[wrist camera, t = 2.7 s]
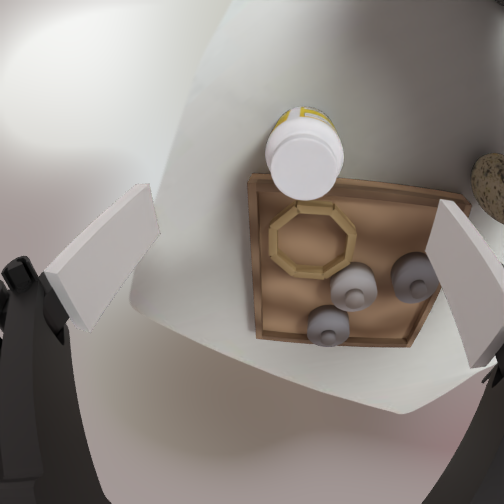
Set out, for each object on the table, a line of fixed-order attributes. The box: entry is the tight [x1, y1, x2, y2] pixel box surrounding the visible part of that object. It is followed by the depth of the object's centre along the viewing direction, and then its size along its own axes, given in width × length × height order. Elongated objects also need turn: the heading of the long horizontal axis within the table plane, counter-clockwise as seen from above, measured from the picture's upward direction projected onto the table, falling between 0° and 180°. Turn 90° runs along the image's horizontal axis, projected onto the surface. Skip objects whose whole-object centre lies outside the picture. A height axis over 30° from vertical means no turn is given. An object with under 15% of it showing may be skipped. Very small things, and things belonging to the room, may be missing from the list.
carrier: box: [247, 173, 472, 347], centre depth 29 cm, size 22×22×5 cm
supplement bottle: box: [265, 106, 344, 201], centre depth 20 cm, size 5×5×10 cm
